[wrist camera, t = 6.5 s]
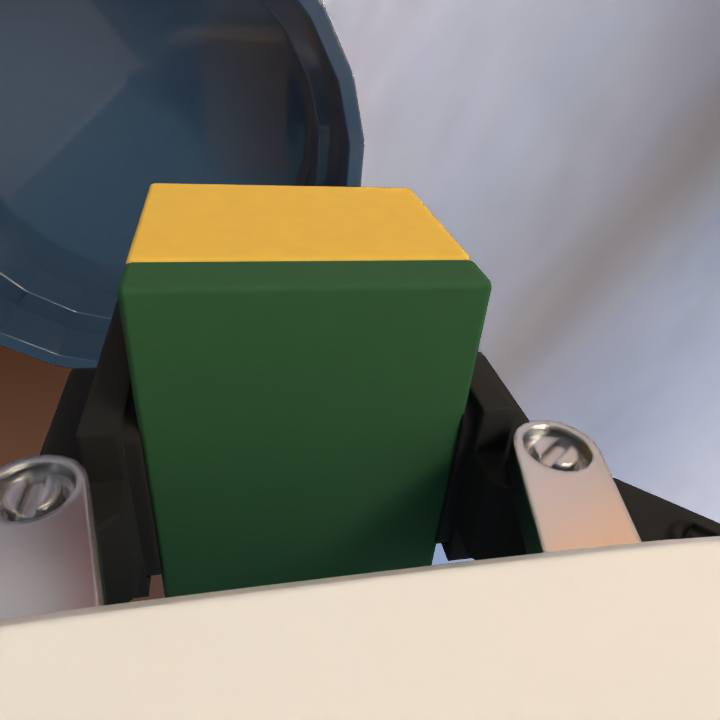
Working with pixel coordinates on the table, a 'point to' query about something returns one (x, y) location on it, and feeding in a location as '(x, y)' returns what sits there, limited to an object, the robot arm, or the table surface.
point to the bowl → (147, 137)
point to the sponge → (296, 378)
